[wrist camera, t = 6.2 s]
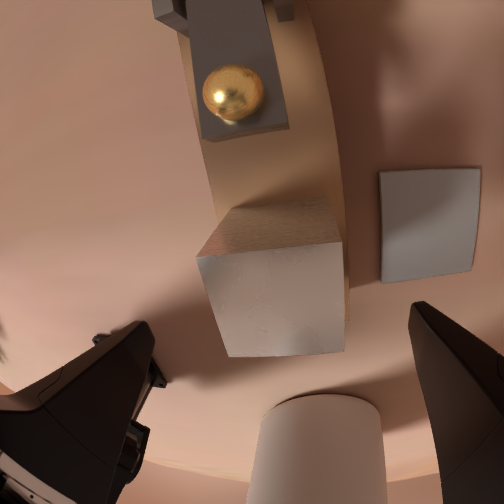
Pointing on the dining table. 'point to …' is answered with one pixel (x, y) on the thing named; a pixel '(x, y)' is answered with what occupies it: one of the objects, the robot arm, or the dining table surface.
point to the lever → (234, 69)
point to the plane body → (279, 142)
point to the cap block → (277, 279)
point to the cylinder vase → (320, 453)
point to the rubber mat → (428, 222)
